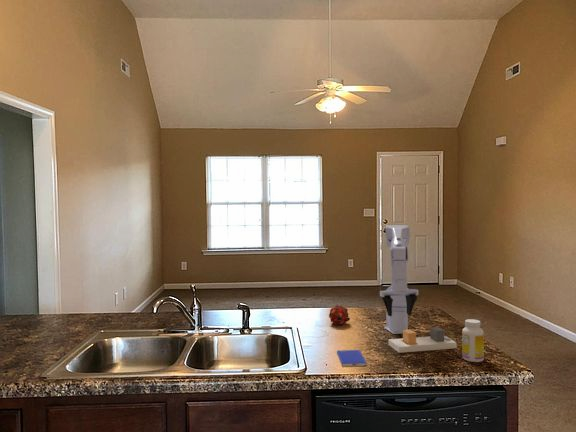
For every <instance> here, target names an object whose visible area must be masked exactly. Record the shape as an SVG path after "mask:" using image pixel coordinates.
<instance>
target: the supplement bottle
mask: <svg viewBox="0 0 576 432" xmlns="http://www.w3.org/2000/svg"><path fill="white" fill-rule="evenodd" d="M464 321H465V322H464V324H465V327H464V328H462V331H461V333H462V334H461V335H462V336H461V343H462V345H461V346H462V347H461V349H462V351H461V353H462V354H461V355H462V356H461V357H462V359H464V360H465V361H467V362H469V363H470V362H471V363H472V362H473V363H482V362H483V361H484V360H485V333H484V332H485V331H484V330H483V329H482V328H481V326H482V325H481V321H480V320H478V319H473V318H471V319H469V318H467V319H465V320H464Z"/></svg>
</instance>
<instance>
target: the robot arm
mask: <svg viewBox="0 0 576 432" xmlns="http://www.w3.org/2000/svg"><path fill="white" fill-rule="evenodd" d="M410 229H411V228H410V226H409V225H408V224H406V225H393V224H391V225H389V224H386V226H385V245H386V247H388V248H389V260H390V267H391V270H390V271H391V272H390V273H391V276H390V277H391V279H390V281H391V282H390V286H389V287H387V288H386V289H385V290H379V296H380V297H381V299H382V301H383V303H384V306H385V309H386V313H385V316H386V318H385V319H386V320H385V322H386V325H385V326H383V328H384V329H385V330H386V331H388V332H390V334H391V333H392V334H393V335H399V334H400V335H401V334H402V335H403V330H409V328H408V322H409V321H408V319H409V318H408V315H409V316H412V312H413V308H414V305H415V303H416V302H417V300H418V296H419V292H420V291H419V289H417V288H408V262H409V248H408V247H409V244H410Z"/></svg>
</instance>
